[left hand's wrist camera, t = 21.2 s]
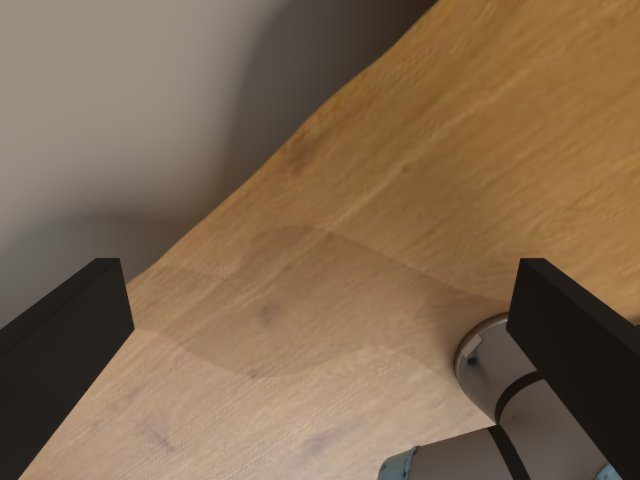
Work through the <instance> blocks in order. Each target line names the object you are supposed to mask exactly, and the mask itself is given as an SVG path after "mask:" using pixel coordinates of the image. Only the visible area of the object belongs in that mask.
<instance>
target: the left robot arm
mask: <svg viewBox="0 0 640 480" xmlns="http://www.w3.org/2000/svg"><path fill="white" fill-rule="evenodd" d="M134 329H135V328H134V323H133V319H132V314H131V309H130V305H129V300H128V296H127V291H126V286H125V282H124V277H123V272H122V268H121V263H120V259H119V258H96V259H94V260H93V261H92V262H90V263H89V264H88V265H86V266H85V267H84V268H82V269H81V270H80V271H78V272H77V273H76V274H74V275H73V276H71V277H70V278H69V279H67V280H66V281H65V282H63V283H62V284H61V285H60V286H58V287H57V288H55V289H54V290H53V291H51V292H50V293H49V294H48V295H46V296H45V297H43V298H42V299H41V300H40V301H38V302H37V303H35V304H34V305H33V306H31V307H30V308H29V309H27V310H26V311H25V312H23V313H22V314H21V315H19V316H18V317H17V318H15V319H14V320H13V321H11V322H10V323H9V324H7V325H6V326H5V327H3V328H2V329H1V330H0V480H18V479H19V477H20V476H21V475H22V474H23V472H24V471H25V470H26V468H27V467H28V466H29V465H30V463H31V462H32V461H33V459H34V458H35V457H36V456H37V454H38V453H39V452H40V450H41V449H42V448H43V447H44V445H45V444H46V443H47V441H48V440H49V439H50V438H51V436H52V435H53V434H54V432H55V431H56V430H57V428H58V427H59V426H60V425H61V423H62V422H63V421H64V419H65V418H66V417H67V416H68V414H69V413H70V412H71V410H72V409H73V408H74V407H75V405H76V404H77V403H78V401H79V400H80V399H81V398H82V396H83V395H84V394H85V392H86V391H87V390H88V389H89V387H90V386H91V385H92V383H93V382H94V381H95V380H96V378H97V377H98V376H99V374H100V373H101V372H102V371H103V369H104V368H105V367H106V365H107V364H108V363H109V362H110V360H111V359H112V358H113V356H114V355H115V354H116V353H117V351H118V350H119V349H120V347H121V346H122V345H123V344H124V342H125V341H126V340H127V338H128V337H129V336H130V335H131V333H132V332H133V331H134ZM454 368H455V374H456V377H457V379H458V382H459V384H460V386H461V388H462V390H463V391H464V393H465V394H466V395H467V396H468V398H469V399H470V400H471V401H472V402H473V403H474V404H475V405H476V406H477V407H479V408H480V409H481V410H482V411H483V412H484V413H485V414H486V415H487V416H488V417H489V418H490V419H491V420H492V421H493V422H494V423H496V425H494V426H491V427H487V428H483V429H480V430H476V431H473V432H469V433H466V434H463V435H459V436H456V437H452V438H449V439H446V440H442V441H438V442H435V443H431V444H427V445H424V446H414V447H413V448H412V449H411V450H408V451H406V452H403V453H400V454H397V455H394V456H392V457H389V458H388V459H386V460H385V461H384V463H383V464H382V466H381V468H380V470H379V474H378V478H377V480H640V325H637V326H634V325H633V324H631V323H630V322H629V321H627V320H626V319H625V318H623V317H622V316H621V315H619V314H618V313H617V312H615V311H614V310H613V309H611V308H610V307H609V306H607V305H606V304H605V303H603V302H602V301H601V300H599V299H598V298H597V297H595V296H594V295H593V294H591V293H590V292H589V291H587V290H586V289H585V288H583V287H582V286H581V285H579V284H578V283H577V282H575V281H574V280H573V279H571V278H570V277H569V276H567V275H566V274H564V273H563V272H562V271H560V270H559V269H558V268H556V267H555V266H554V265H552V264H551V263H550V262H548V261H547V260H546V259H544V258H520V263H519V268H518V272H517V277H516V282H515V286H514V291H513V296H512V300H511V305H510V309H509V312H506V313H502V314H499V315H496V316H494V317H491V318H489V319H487V320H485V321H483V322H482V323H480V324H479V325H477V326H476V327H475V328H474V329H472V330H471V331H470V332H469V333H468V334H467V335H466V337H465V338H464V339H463V341H462V342H461V344H460V346H459V347H458V350H457V352H456V356H455V361H454Z"/></svg>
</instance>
